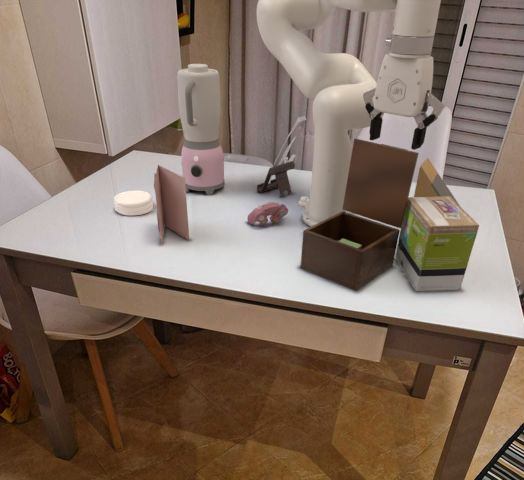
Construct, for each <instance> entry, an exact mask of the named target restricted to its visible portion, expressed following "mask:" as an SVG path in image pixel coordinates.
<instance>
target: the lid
mask: <svg viewBox="0 0 524 480" xmlns="http://www.w3.org/2000/svg"><path fill="white" fill-rule="evenodd" d="M352 146H353V149H352V155H351V161H350V167H349V173H348V179H347V185H346V191H345V197H344V203H343V209H342V210H345V211H346V212H347V213H350V214H353V215H356V216H359V217H362V218H365V219H368V220H372V221H375V222H378V223H381V224H384V225H387V226H390V227H393V228H396V229H401V225H402V221H403V217H404V213H405V209H406V204H407V200H408V197H409V196H410V192H411V187H412V183H413V179H414V174H415V171H416V167H417V163H418V158H419V155H420V154H419V152H416V151H412V150H409V149H406V148H403V147H402V148H401V147H398V146H393V145H389V144H384V143H377V142H373V141H370V140H369V141H367V140H364V139H360V138H354V139H353V142H352Z"/></svg>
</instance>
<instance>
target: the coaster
mask: <svg viewBox="0 0 524 480" xmlns="http://www.w3.org/2000/svg"><path fill="white" fill-rule="evenodd" d="M113 203H114V210H115V211H116V212H117V213H118V214H120V215H123V216H128V217H129V216H141V215H146V214H148V213H149V212H151V211H152V210H153V209H154V201H153V196H152V194H151V193H150V192H147V191H145V190H127V191H121V192H120V193H117V194H116V195H115V196H114V197H113Z"/></svg>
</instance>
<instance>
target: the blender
mask: <svg viewBox="0 0 524 480" xmlns="http://www.w3.org/2000/svg"><path fill="white" fill-rule="evenodd" d="M176 78H177V100H178V112H179V117H180V118H179V119H180V123H181V128H182V131H183V136H184V137H183V138H184V142H183V145H182V148H181V152H180V154H181V155H180V158H181V171H182V177H184V178H185V187H186V193H189V192H190V191H191V190H192V191H197V192H205V195H207V196H209V195H214V191H216V190H218V189H219V190H220V189H221V188H223V187H224V186H225V185H226V184H225V159H224V158H225V157H224V150H223V148H222V146H221V143H220V140H219V139H220V138H219V135H220V134H219V133H220V125H221V116H222V102H221V100H222V99H221V84H220V83H221V82H220V73H219V71H218V70H217V69H215V68H214V69H213V68H209V66H208V64H205V63H190V64H187V68H182V69H178V71H177V73H176Z"/></svg>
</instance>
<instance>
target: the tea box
mask: <svg viewBox="0 0 524 480" xmlns="http://www.w3.org/2000/svg"><path fill="white" fill-rule="evenodd" d="M458 204H459V203H458ZM458 204H457V203H456V202H455V201H454V200H453V199H452V198H451V197H450V196H438V197H414V196H410V197H409V196H408V200H407V204H406V209H405V213H404V217H403V221H402V225H401V228H400V229H399V230H400V232H399V237H398V242H397V247H396V252H395V257H394V258H395V259H396V261H397V263H398V264H399V266H400V268H401V270H402V271H403V273H404V274H405V277H406V278H407V279H408V281H409V283H410V285H411V286H412V288H413V290H414V291H415V292H436V291H438V292H439V291H457V290H458V291H459V290H461V289H462V285H463V282H464V279H465V275H466V272H467V268H468V264H469V261H470V258H471V255H472V251H473V247H474V244H475V241H476V238H477V234H478V231H479V227H480V224H479V223H478V222H477V221H476V220H474V218H473V217H471V215H470V214H469V213H468V212H467V211H466V210H465V209H464V208H463V207H462V206H461V205H460V204H459V205H460V206H459V205H458Z"/></svg>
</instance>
